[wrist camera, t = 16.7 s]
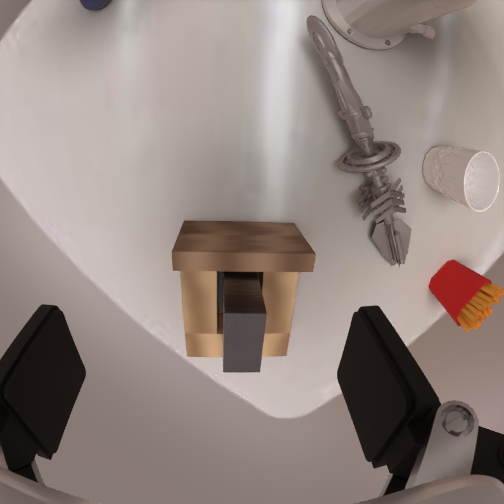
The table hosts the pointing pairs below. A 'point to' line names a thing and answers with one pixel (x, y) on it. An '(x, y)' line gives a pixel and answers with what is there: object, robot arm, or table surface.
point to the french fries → (464, 294)
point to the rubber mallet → (93, 4)
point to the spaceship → (365, 151)
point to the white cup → (463, 175)
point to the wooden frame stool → (239, 260)
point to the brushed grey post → (242, 322)
